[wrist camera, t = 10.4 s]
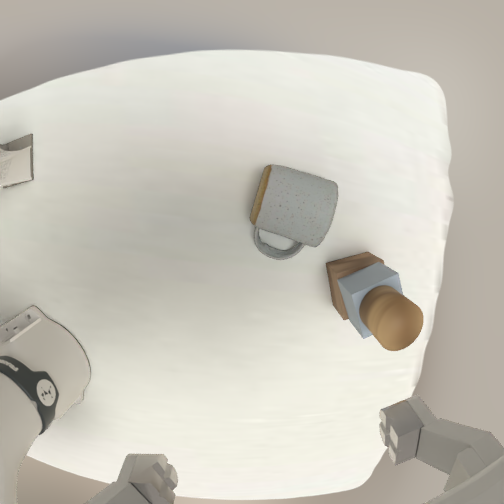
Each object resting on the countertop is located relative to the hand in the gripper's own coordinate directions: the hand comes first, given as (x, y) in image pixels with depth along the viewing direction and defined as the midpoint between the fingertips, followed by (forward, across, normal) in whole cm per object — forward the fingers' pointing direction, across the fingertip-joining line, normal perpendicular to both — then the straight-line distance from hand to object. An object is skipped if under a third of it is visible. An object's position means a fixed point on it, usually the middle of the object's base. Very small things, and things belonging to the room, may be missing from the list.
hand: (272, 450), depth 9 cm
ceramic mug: (+29, -6, -4) cm, 30 cm away
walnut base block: (+29, -12, +6) cm, 32 cm away
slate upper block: (+24, -12, +6) cm, 28 cm away
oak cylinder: (+19, -12, +6) cm, 23 cm away
